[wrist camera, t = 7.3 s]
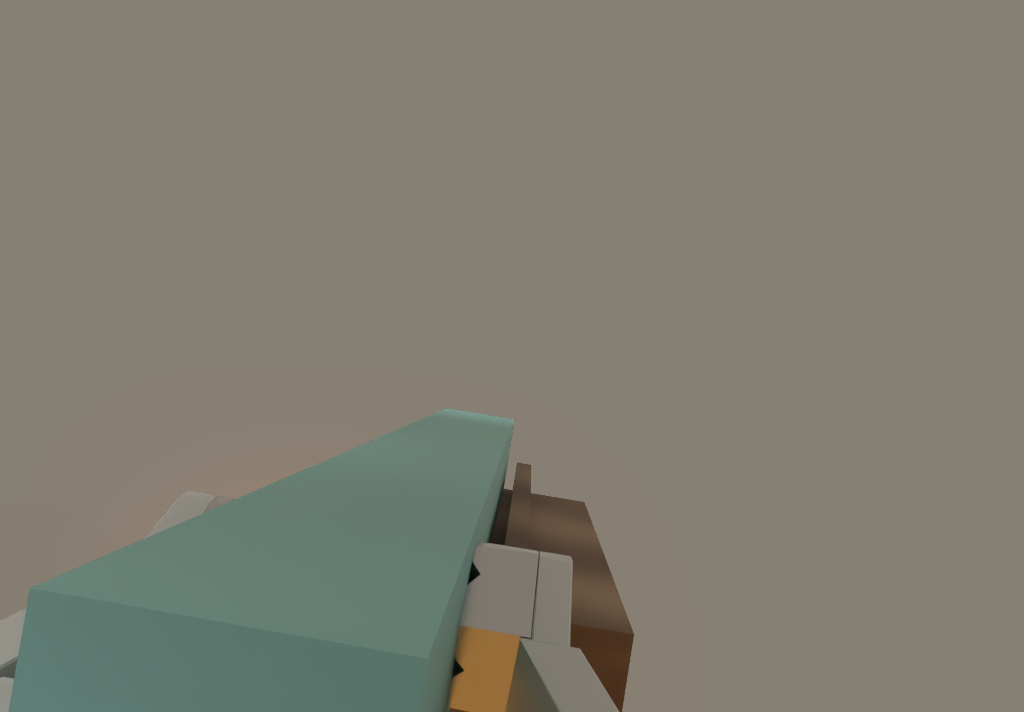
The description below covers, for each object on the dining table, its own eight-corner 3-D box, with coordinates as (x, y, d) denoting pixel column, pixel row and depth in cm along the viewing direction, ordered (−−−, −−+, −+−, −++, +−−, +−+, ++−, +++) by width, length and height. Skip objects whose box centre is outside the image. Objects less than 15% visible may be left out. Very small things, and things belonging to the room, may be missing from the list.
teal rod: (359, 1075, 5) (426, 658, 5) (-42, 995, 5) (28, 588, 5) (503, 488, 29) (514, 419, 29) (435, 477, 29) (446, 408, 29)
